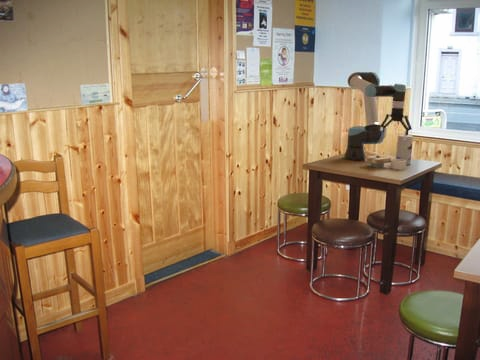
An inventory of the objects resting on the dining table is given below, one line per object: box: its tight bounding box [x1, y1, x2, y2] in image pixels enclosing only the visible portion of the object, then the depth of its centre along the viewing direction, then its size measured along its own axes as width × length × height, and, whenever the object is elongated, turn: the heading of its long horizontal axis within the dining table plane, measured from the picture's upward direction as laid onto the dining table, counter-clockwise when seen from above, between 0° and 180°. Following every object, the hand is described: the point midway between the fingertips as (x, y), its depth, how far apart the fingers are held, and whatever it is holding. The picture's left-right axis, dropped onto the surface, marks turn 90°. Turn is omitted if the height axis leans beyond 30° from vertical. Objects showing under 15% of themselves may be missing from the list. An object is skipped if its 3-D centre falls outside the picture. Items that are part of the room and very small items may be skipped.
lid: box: [364, 154, 392, 164], centre depth 350 cm, size 12×12×4 cm
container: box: [395, 134, 414, 166], centre depth 360 cm, size 10×10×20 cm
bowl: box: [389, 158, 407, 171], centre depth 346 cm, size 10×10×6 cm
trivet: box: [370, 162, 385, 169], centre depth 351 cm, size 6×6×4 cm
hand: (394, 138), depth 344 cm, fingers open, 13 cm apart
